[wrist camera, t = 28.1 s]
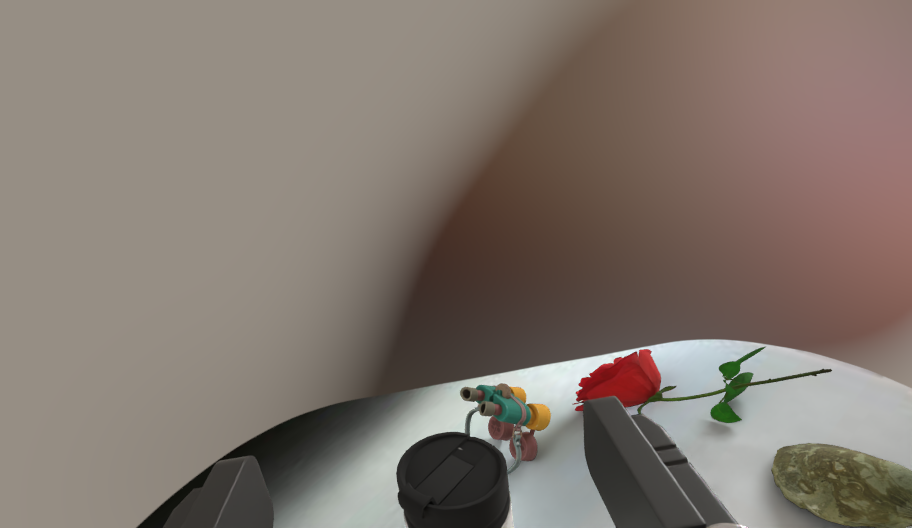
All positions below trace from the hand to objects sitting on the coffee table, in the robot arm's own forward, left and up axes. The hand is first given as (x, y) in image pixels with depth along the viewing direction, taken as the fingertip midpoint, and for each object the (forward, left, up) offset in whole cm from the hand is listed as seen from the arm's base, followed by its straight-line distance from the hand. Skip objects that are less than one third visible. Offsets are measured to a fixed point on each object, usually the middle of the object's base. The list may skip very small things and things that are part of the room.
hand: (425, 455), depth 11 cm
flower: (-21, -41, -32) cm, 56 cm away
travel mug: (+2, -10, -31) cm, 33 cm away
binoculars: (+2, -33, -32) cm, 46 cm away
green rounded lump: (-30, -28, -32) cm, 52 cm away
